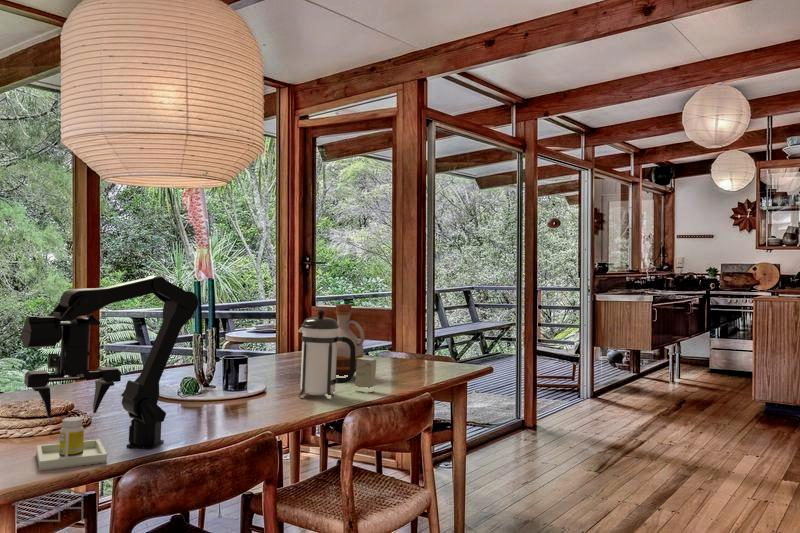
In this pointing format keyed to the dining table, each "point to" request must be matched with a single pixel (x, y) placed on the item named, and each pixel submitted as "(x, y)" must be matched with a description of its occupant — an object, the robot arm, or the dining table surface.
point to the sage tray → (51, 459)
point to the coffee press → (322, 355)
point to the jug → (343, 347)
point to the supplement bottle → (71, 437)
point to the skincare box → (365, 372)
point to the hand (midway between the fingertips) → (72, 414)
